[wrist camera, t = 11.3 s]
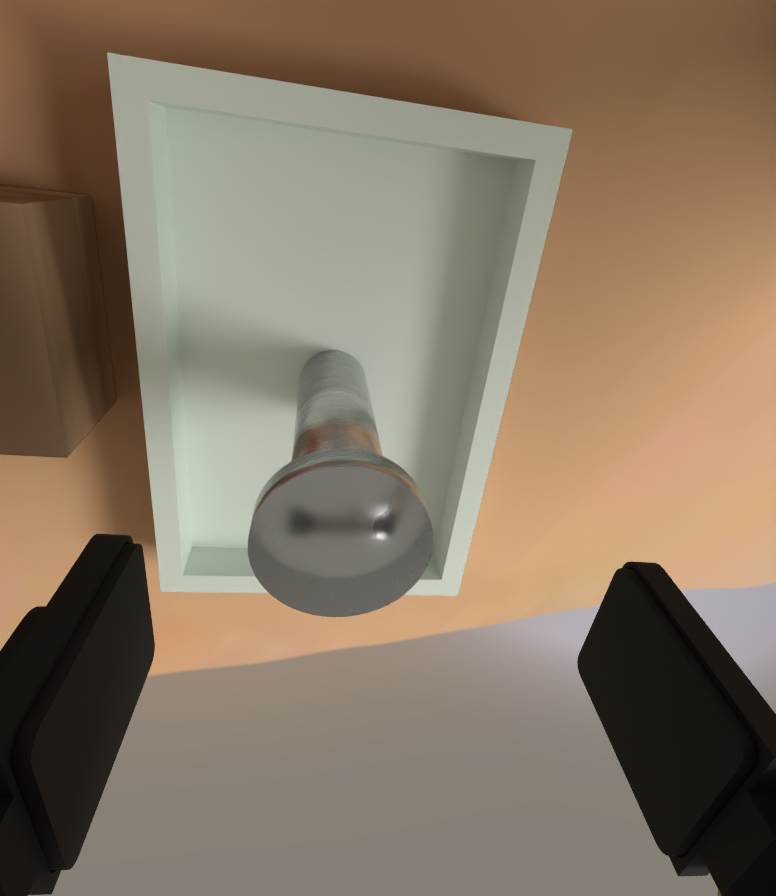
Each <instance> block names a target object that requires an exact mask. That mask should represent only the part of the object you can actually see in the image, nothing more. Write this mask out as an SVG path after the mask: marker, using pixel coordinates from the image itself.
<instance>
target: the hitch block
mask: <svg viewBox="0 0 776 896" xmlns="http://www.w3.org/2000/svg"><path fill="white" fill-rule="evenodd" d="M115 402H116V393H115V385H114V377H113V369H112V361H111V353H110V345H109V337H108V329H107V321H106V312H105V304H104V296H103V288H102V280H101V272H100V264H99V256H98V248H97V240H96V232H95V224H94V216H93V208H92V200H91V195H84V194H76V193H68V192H60V191H52V190H44V189H36V188H28V187H20V186H12V185H4V184H0V454H3V455H23V456H43V457H63V458H67V457H68V456H69V455H70V453H71V452H72V451H73V450H74V449H75V448H76V447H77V445H78V444H79V443H80V442H81V441H82V440H83V439H84V437H85V436H86V435H87V434H88V433H89V432H90V431H91V429H92V428H93V427H94V426H95V425H96V424H97V423H98V421H99V420H100V419H101V418H102V417H103V416H104V415H105V413H106V412H107V411H108V410H109V409H110V408H111V407H112V405H113V404H114V403H115Z"/></svg>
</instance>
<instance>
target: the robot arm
mask: <svg viewBox="0 0 776 896" xmlns="http://www.w3.org/2000/svg"><path fill="white" fill-rule="evenodd" d="M154 649H155V643H154V635H153V627H152V619H151V611H150V603H149V595H148V587H147V579H146V571H145V563H144V555H143V548H142V546H141V544H133V540H132V538H131V536H128V535H109V534H96V535H94V536H93V537H92V538H91V539H90V541H89V542H88V544H87V546H86V547H85V549H84V550H83V552H82V553H81V555H80V556H79V558H78V559H77V561H76V562H75V564H74V565H73V567H72V568H71V570H70V571H69V573H68V574H67V576H66V577H65V579H64V580H63V582H62V583H61V585H60V586H59V588H58V589H57V591H56V592H55V594H54V595H53V597H52V598H51V600H50V601H49V603H48V604H47V606H46V607H35V608H33V609H32V610H30V611H29V612H28V613H27V614H26V616H25V617H24V618H23V619H22V621H21V622H20V624H19V625H18V626H17V628H16V629H15V631H14V632H13V634H12V635H11V636H10V638H9V639H8V641H7V642H6V644H5V645H4V647H3V648H2V649H1V651H0V896H28V895H39V894H52V892H53V890H54V887H55V884H56V882H57V880H58V877H59V875H60V872H61V870H69V869H71V868H72V867H73V865H74V864H75V862H76V860H77V858H78V856H79V853H80V851H81V848H82V846H83V843H84V840H85V838H86V835H87V832H88V830H89V827H90V824H91V822H92V819H93V817H94V814H95V811H96V809H97V806H98V804H99V801H100V798H101V796H102V793H103V790H104V788H105V785H106V783H107V780H108V777H109V775H110V772H111V769H112V767H113V764H114V761H115V759H116V756H117V754H118V751H119V748H120V746H121V743H122V740H123V738H124V735H125V732H126V730H127V727H128V725H129V722H130V719H131V717H132V714H133V712H134V709H135V706H136V704H137V701H138V698H139V696H140V693H141V691H142V688H143V685H144V683H145V680H146V677H147V675H148V672H149V670H150V667H151V664H152V661H153V657H154ZM578 670H579V673H580V676H581V678H582V681H583V683H584V685H585V687H586V689H587V692H588V694H589V696H590V698H591V700H592V703H593V705H594V707H595V709H596V711H597V714H598V716H599V718H600V720H601V722H602V725H603V727H604V729H605V731H606V734H607V735H608V738H609V740H610V742H611V745H612V747H613V749H614V751H615V753H616V756H617V758H618V760H619V762H620V764H621V767H622V769H623V771H624V773H625V775H626V778H627V780H628V782H629V784H630V786H631V788H632V791H633V793H634V795H635V797H636V800H637V802H638V804H639V806H640V809H641V811H642V813H643V815H644V817H645V820H646V822H647V824H648V826H649V828H650V831H651V833H652V835H653V837H654V839H655V842H656V843H657V845H658V847H659V849H660V850H661V851H662V852H663V853H664V854H665V855H668V856H669V857H670V859H671V862H672V864H673V866H674V868H675V870H676V873H677V875H678V876H703V875H704V876H705V875H708V874H709V873H710V874H711V876H712V877H713V880H714V881H715V883H716V885H717V887H718V895H717V896H776V714H775V713H774V711H773V710H772V709H771V708H770V706H769V705H768V704H767V702H766V701H765V700H764V699H763V697H762V696H761V695H760V693H759V692H758V691H757V689H756V688H755V687H754V686H753V685H752V683H751V682H750V680H749V679H748V678H747V676H746V675H745V674H744V673H743V671H742V670H741V669H740V667H739V666H738V665H737V663H736V662H735V661H734V660H733V658H732V657H731V656H730V654H729V653H728V652H727V651H726V649H725V648H724V647H723V645H722V644H721V643H720V641H719V640H718V639H717V638H716V636H715V635H714V634H713V632H712V631H711V630H710V629H709V627H708V626H707V625H706V623H705V622H704V621H703V619H702V618H701V617H700V616H699V614H698V613H697V612H696V610H695V609H694V608H693V607H692V605H691V604H690V603H689V601H688V600H687V599H686V597H685V596H684V595H683V594H682V592H681V591H680V590H679V588H678V587H677V586H676V584H675V583H674V582H673V581H672V579H671V578H670V577H669V575H668V574H667V573H666V572H665V570H664V569H663V568H662V567H661V566H660V565H659V564H656V563H646V562H627V563H626V564H624V566H623V567H622V568H620V569H618V570H617V571H616V572H615V574H614V576H613V578H612V581H611V583H610V585H609V588H608V590H607V592H606V594H605V597H604V599H603V601H602V603H601V606H600V608H599V611H598V613H597V615H596V617H595V619H594V622H593V624H592V626H591V628H590V631H589V633H588V635H587V637H586V640H585V642H584V644H583V646H582V649H581V651H580V653H579V656H578Z"/></svg>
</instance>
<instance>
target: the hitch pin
mask: <svg viewBox="0 0 776 896" xmlns="http://www.w3.org/2000/svg"><path fill="white" fill-rule="evenodd" d="M433 543H434V539H433V529H432V524H431V521H430V518H429V514H428V511H427V508H426V505H425V501H424V498H423V496H422V493H421V491H420V489H419V487H418V486H417V484H416V482H415V481H414V480H413V478H412V477H411V476H410V475H409V474H408V473H407V472H406V471H405V470H404V469H403V468H402V467H400V466H399V465H397V464H396V463H395V462H393V461H391V460H389V459H387V458H385V457H384V456H383V455H382V450H381V446H380V441H379V436H378V431H377V427H376V422H375V417H374V413H373V408H372V403H371V399H370V394H369V389H368V384H367V380H366V375H365V372H364V369H363V367H362V365H361V364H360V363H359V361H358V360H357V359H356V358H354V357H353V356H352V355H350V354H348V353H346V352H343V351H338V350H327V351H322V352H320V353H317V354H316V355H314V356H312V357H311V358H310V359H309V360H308V361H307V362H306V363H305V365H304V366H303V368H302V371H301V374H300V380H299V390H298V400H297V410H296V420H295V430H294V440H293V450H292V460H291V462H290V463H288V464H287V465H285V466H284V467H282V468H281V469H280V470H278V471H277V472H276V473H275V474H274V475H273V476H272V477H271V478H270V479H269V480H268V482H267V483H266V484H265V485H264V487H263V489H262V490H261V492H260V494H259V496H258V498H257V500H256V503H255V507H254V511H253V516H252V521H251V526H250V531H249V536H248V546H247V547H248V557H249V561H250V565H251V568H252V570H253V572H254V575H255V576H256V578H257V579H258V581H259V583H260V584H261V585H262V586H263V587H264V588H265V590H266V591H267V592H269V593H270V594H271V595H272V596H273V597H274V598H276V599H277V600H279V601H280V602H282V603H283V604H285V605H287V606H289V607H291V608H293V609H296V610H299V611H301V612H305V613H309V614H312V615H318V616H327V617H347V616H354V615H360V614H364V613H368V612H371V611H374V610H377V609H380V608H382V607H384V606H386V605H389V604H390V603H392V602H394V601H395V600H397V599H399V598H400V597H401V596H403V595H404V594H405V593H407V592H408V591H409V590H410V589H411V588H412V587H413V586H414V585H415V584H416V583H417V582H418V580H419V579H420V578H421V576H422V575H423V573H424V572H425V570H426V568H427V566H428V564H429V562H430V558H431V555H432V551H433Z"/></svg>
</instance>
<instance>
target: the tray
mask: <svg viewBox="0 0 776 896" xmlns="http://www.w3.org/2000/svg"><path fill="white" fill-rule="evenodd" d="M107 58H108V68H109V78H110V88H111V98H112V108H113V118H114V128H115V138H116V148H117V158H118V168H119V178H120V188H121V198H122V208H123V218H124V228H125V238H126V248H127V258H128V268H129V278H130V288H131V298H132V308H133V318H134V328H135V338H136V348H137V358H138V368H139V378H140V388H141V398H142V408H143V418H144V428H145V438H146V448H147V458H148V468H149V478H150V488H151V498H152V508H153V518H154V528H155V538H156V548H157V558H158V568H159V578H160V588H161V592H218V593H269V592H267V591H266V590H265V588H264V587H263V586H262V585H261V584H260V583H259V581H258V579H257V578H256V576H255V575H254V572H253V570H252V568H251V565H250V561H249V557H248V547H247V546H248V536H249V531H250V526H251V521H252V516H253V511H254V507H255V503H256V500H257V498H258V496H259V494H260V492H261V490H262V489H263V487H264V485H265V484H266V483H267V482H268V480H269V479H270V478H271V477H272V476H273V475H274V474H275V473H276V472H277V471H278V470H280V469H281V468H282V467H284V466H285V465H287V464H288V463H290V462H291V460H292V450H293V440H294V430H295V420H296V410H297V400H298V390H299V380H300V374H301V371H302V368H303V366H304V365H305V363H306V362H307V361H308V360H309V359H310V358H311V357H312V356H314V355H316V354H317V353H320V352H322V351H327V350H338V351H343V352H346V353H348V354H350V355H352V356H353V357H354V358H356V359H357V360H358V361H359V363H360V364H361V365H362V367H363V369H364V372H365V375H366V380H367V384H368V389H369V394H370V399H371V403H372V408H373V413H374V417H375V422H376V427H377V431H378V436H379V441H380V446H381V450H382V455H383V456H384V457H385V458H387V459H389V460H391V461H393V462H395V463H396V464H397V465H399V466H400V467H402V468H403V469H404V470H405V471H406V472H407V473H408V474H409V475H410V476H411V477H412V478H413V480H414V481H415V482H416V484H417V486H418V487H419V489H420V491H421V493H422V496H423V498H424V501H425V505H426V508H427V511H428V514H429V518H430V521H431V524H432V529H433V539H434V543H433V551H432V555H431V558H430V562H429V564H428V566H427V568H426V570H425V572H424V573H423V575H422V576H421V578H420V579H419V580H418V582H417V583H416V584H415V585H414V586H413V587H412V588H411V589H410V590H409V591H408V592H407V593H405V594H404V595H445V596H458V592H459V588H460V584H461V580H462V576H463V572H464V568H465V564H466V560H467V556H468V552H469V548H470V544H471V540H472V536H473V532H474V527H475V523H476V519H477V515H478V511H479V507H480V503H481V499H482V495H483V491H484V487H485V483H486V479H487V475H488V471H489V467H490V463H491V459H492V455H493V451H494V447H495V443H496V439H497V435H498V431H499V427H500V423H501V418H502V414H503V410H504V406H505V402H506V398H507V394H508V390H509V386H510V382H511V378H512V374H513V370H514V366H515V362H516V358H517V354H518V350H519V346H520V342H521V338H522V334H523V330H524V326H525V322H526V318H527V314H528V310H529V305H530V301H531V297H532V293H533V289H534V285H535V281H536V277H537V273H538V269H539V265H540V261H541V257H542V253H543V249H544V245H545V241H546V237H547V233H548V229H549V225H550V221H551V217H552V213H553V209H554V205H555V201H556V196H557V192H558V188H559V184H560V180H561V176H562V172H563V168H564V164H565V160H566V156H567V152H568V148H569V144H570V140H571V136H572V132H573V129H568V128H562V127H556V126H550V125H544V124H538V123H532V122H526V121H520V120H514V119H508V118H502V117H496V116H489V115H483V114H477V113H471V112H465V111H459V110H453V109H447V108H441V107H435V106H429V105H423V104H417V103H411V102H405V101H399V100H393V99H387V98H381V97H374V96H368V95H362V94H356V93H350V92H344V91H338V90H332V89H326V88H320V87H314V86H308V85H302V84H296V83H290V82H284V81H278V80H272V79H265V78H259V77H253V76H247V75H241V74H235V73H229V72H223V71H217V70H211V69H205V68H199V67H193V66H187V65H181V64H175V63H169V62H163V61H156V60H150V59H144V58H138V57H132V56H126V55H120V54H114V53H108V52H107Z"/></svg>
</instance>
